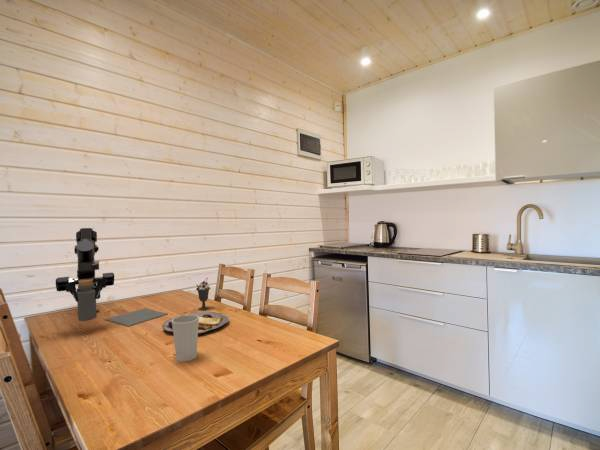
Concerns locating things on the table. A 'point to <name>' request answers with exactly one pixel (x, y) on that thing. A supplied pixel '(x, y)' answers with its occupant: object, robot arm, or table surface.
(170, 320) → the food plate
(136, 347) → the table surface
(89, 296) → the bottle
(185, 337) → the cup
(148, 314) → the mat
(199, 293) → the sundae
